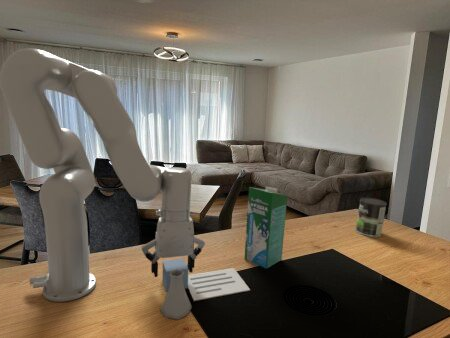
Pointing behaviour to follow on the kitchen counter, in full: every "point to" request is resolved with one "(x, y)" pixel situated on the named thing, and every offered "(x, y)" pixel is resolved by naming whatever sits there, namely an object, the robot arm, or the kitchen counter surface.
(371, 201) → the coffee can
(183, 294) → the flask
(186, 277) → the blue cube
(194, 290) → the letter
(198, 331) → the kitchen counter surface
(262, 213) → the milk carton
